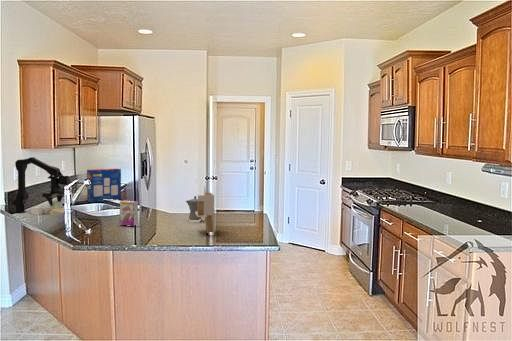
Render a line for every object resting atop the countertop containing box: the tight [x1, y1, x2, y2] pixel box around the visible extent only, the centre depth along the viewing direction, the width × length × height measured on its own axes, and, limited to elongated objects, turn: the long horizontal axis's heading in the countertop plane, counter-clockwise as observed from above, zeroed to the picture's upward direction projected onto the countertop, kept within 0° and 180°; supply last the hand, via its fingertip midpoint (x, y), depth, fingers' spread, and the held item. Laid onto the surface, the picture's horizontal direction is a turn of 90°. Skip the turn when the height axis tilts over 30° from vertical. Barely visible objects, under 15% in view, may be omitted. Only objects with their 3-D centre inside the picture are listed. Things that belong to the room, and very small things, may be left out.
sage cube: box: [49, 200, 62, 209], centre depth 319 cm, size 5×5×5 cm
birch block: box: [44, 207, 65, 216], centre depth 319 cm, size 10×10×4 cm
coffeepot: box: [185, 195, 202, 220], centre depth 300 cm, size 15×9×18 cm, turn 107°
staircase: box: [195, 186, 216, 234], centre depth 265 cm, size 10×16×29 cm, turn 15°
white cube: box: [30, 206, 43, 216], centre depth 315 cm, size 5×5×5 cm
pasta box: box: [86, 168, 122, 203], centre depth 384 cm, size 28×8×28 cm, turn 135°
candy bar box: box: [119, 200, 139, 226], centre depth 280 cm, size 11×5×16 cm, turn 71°
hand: (55, 205), depth 319 cm, fingers open, 7 cm apart
